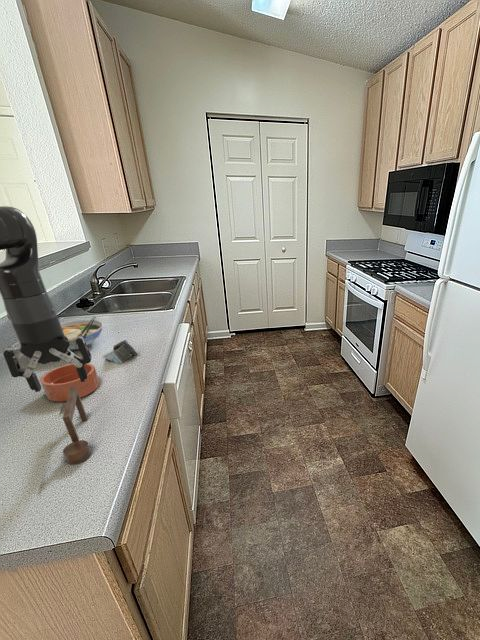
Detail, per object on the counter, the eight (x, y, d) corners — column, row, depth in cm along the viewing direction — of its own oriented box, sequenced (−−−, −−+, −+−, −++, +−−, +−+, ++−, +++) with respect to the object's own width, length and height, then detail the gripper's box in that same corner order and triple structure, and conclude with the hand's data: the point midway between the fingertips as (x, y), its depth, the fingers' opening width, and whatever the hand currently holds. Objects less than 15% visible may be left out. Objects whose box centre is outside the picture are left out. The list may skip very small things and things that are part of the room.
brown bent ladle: (91, 460, 74) (76, 424, 69) (65, 467, 72) (49, 430, 67) (95, 416, 89) (83, 384, 84) (74, 421, 87) (61, 388, 82)
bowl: (43, 408, 92) (35, 389, 90) (51, 385, 103) (44, 368, 101) (99, 395, 98) (92, 378, 95) (100, 375, 109) (95, 359, 106)
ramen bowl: (52, 339, 138) (45, 320, 134) (113, 332, 144) (108, 314, 140) (29, 365, 116) (20, 344, 113) (101, 355, 122) (95, 335, 119)
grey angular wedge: (98, 360, 120) (100, 345, 111) (113, 347, 125) (116, 332, 116) (120, 376, 122) (124, 363, 113) (134, 364, 126) (139, 350, 117)
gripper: (76, 305, 72) (98, 370, 80) (-6, 316, 67) (26, 385, 74) (72, 315, 66) (97, 385, 74) (-18, 328, 61) (18, 402, 68)
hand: (61, 385), depth 74 cm, fingers open, 8 cm apart
